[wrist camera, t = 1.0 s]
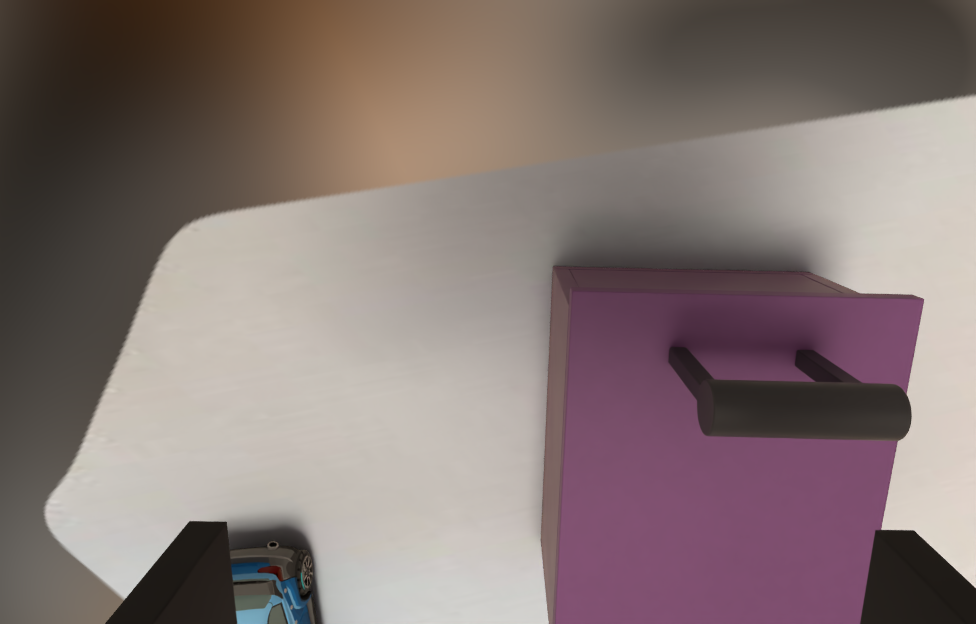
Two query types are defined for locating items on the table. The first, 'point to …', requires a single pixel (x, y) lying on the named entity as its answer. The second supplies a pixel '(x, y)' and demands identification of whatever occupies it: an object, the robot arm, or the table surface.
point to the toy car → (273, 585)
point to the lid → (727, 453)
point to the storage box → (558, 353)
